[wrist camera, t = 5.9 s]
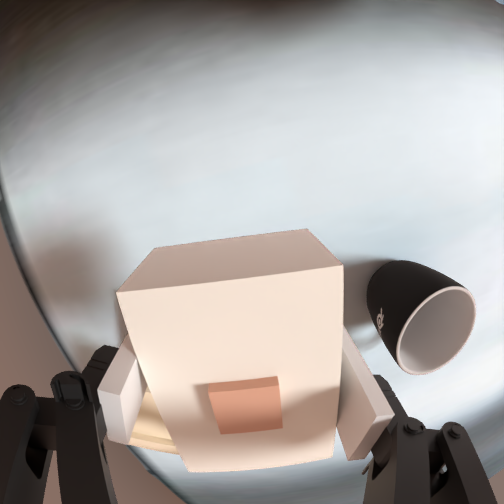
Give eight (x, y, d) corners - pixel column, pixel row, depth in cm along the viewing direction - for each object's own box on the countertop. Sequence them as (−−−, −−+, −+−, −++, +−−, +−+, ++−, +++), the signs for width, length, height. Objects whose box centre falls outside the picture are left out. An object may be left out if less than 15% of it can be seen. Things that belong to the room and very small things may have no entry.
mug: (343, 276, 30) (383, 326, 21) (411, 234, 29) (470, 265, 20) (377, 352, 34) (412, 406, 24) (435, 314, 33) (480, 357, 23)
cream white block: (154, 248, 14) (110, 299, 8) (307, 228, 14) (348, 270, 8) (196, 406, 16) (188, 479, 11) (312, 393, 17) (334, 464, 11)
